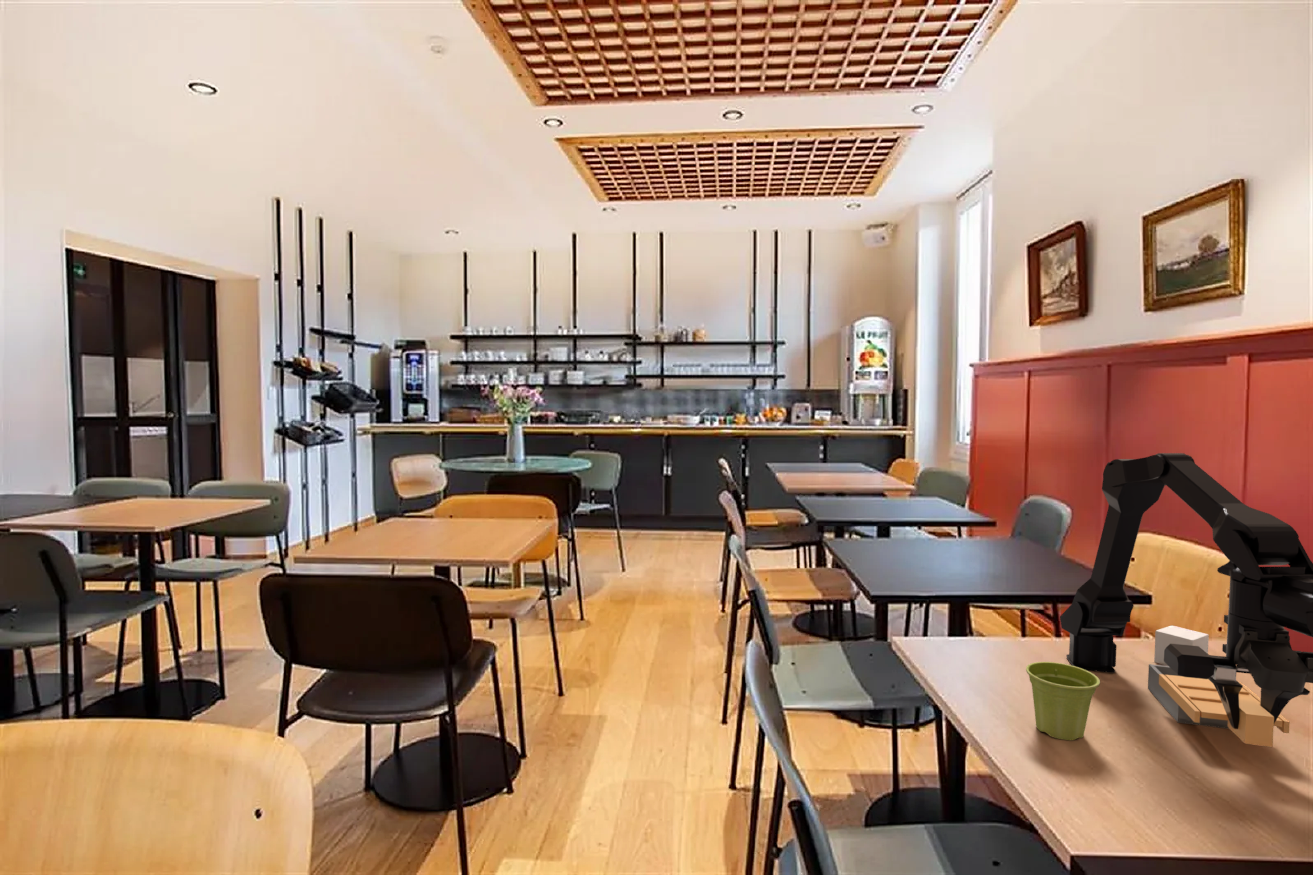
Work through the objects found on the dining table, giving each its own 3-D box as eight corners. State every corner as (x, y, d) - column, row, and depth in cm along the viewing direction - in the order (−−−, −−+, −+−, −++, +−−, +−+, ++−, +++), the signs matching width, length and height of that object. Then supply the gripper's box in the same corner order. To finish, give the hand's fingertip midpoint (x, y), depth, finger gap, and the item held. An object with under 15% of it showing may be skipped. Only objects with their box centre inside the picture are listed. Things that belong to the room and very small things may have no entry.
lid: (1209, 739, 95) (1210, 709, 95) (1158, 684, 113) (1159, 659, 112) (1309, 751, 92) (1311, 721, 91) (1240, 693, 109) (1242, 667, 109)
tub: (1177, 722, 108) (1178, 695, 107) (1147, 688, 120) (1148, 664, 120) (1249, 731, 105) (1251, 703, 105) (1211, 695, 117) (1212, 670, 117)
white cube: (1154, 662, 132) (1155, 630, 131) (1170, 656, 135) (1171, 625, 135) (1191, 673, 127) (1193, 640, 126) (1207, 666, 130) (1208, 634, 129)
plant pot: (1088, 722, 108) (1090, 666, 107) (1105, 751, 99) (1107, 690, 98) (1019, 713, 111) (1021, 658, 110) (1029, 741, 102) (1031, 681, 101)
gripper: (1197, 627, 90) (1191, 747, 91) (1384, 643, 84) (1376, 771, 85) (1164, 602, 100) (1160, 710, 101) (1329, 615, 95) (1322, 729, 96)
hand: (1249, 729), depth 96 cm, fingers closed on lid, 3 cm apart
